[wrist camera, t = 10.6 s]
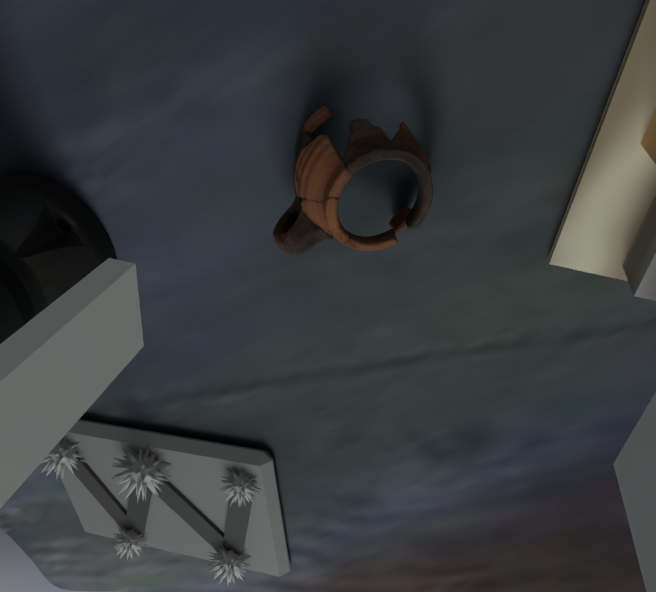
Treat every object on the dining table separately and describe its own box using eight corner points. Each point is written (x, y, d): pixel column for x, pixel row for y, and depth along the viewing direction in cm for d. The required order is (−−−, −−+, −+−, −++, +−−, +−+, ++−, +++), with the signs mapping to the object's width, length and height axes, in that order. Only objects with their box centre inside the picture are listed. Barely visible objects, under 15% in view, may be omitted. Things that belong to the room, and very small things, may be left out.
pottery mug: (342, 60, 36) (382, 102, 30) (426, 143, 42) (475, 193, 35) (231, 192, 40) (247, 253, 34) (322, 252, 46) (349, 315, 39)
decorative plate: (93, 519, 76) (59, 565, 71) (42, 404, 65) (-3, 447, 60) (294, 565, 69) (275, 622, 63) (275, 443, 58) (250, 497, 52)
